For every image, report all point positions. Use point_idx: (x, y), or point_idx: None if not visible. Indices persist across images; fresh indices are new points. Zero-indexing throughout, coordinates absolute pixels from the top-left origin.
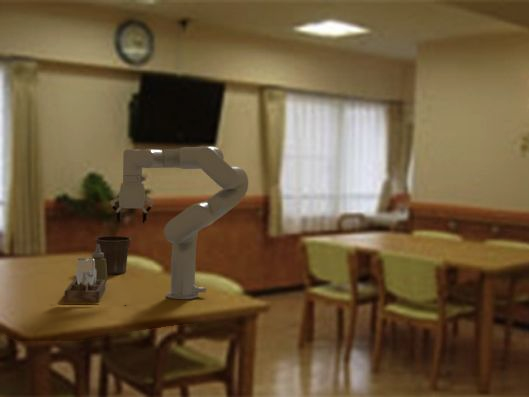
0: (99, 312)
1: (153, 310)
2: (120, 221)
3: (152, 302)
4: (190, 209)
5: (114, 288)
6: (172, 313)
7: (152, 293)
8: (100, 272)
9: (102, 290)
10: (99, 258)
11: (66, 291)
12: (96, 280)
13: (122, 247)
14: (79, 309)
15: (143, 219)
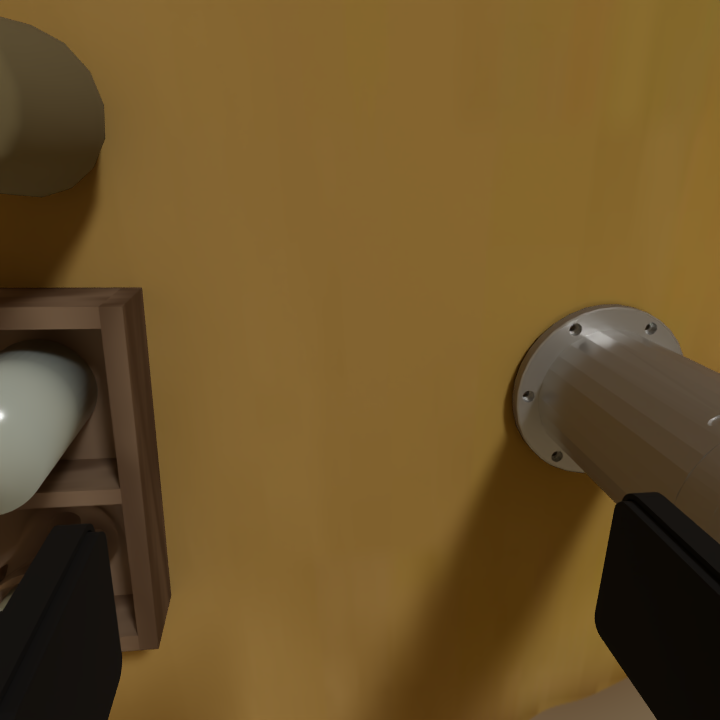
0: (201, 715)
1: (430, 661)
2: (107, 565)
3: (431, 526)
4: None
5: (182, 157)
6: (504, 695)
7: (438, 314)
8: (38, 186)
9: (148, 473)
10: None
11: None
12: (57, 327)
13: None
14: None
15: (647, 688)
